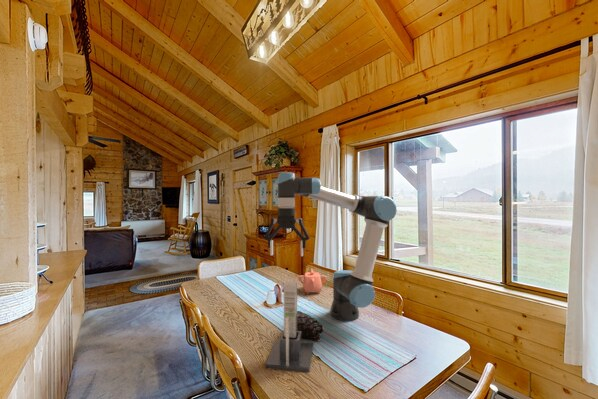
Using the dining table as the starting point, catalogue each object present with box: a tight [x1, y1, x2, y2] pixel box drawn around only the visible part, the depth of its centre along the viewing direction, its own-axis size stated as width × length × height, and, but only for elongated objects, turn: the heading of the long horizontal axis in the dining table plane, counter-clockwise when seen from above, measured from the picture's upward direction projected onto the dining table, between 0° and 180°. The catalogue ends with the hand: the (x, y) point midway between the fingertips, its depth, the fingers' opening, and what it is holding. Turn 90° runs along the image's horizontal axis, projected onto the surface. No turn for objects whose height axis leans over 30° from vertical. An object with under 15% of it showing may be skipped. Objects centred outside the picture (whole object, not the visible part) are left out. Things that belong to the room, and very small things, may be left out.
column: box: [283, 281, 298, 338], centre depth 104 cm, size 4×5×20 cm
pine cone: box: [297, 310, 324, 342], centre depth 122 cm, size 10×18×10 cm, turn 66°
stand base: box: [265, 316, 314, 372], centre depth 105 cm, size 16×16×19 cm
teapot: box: [297, 268, 328, 295], centre depth 178 cm, size 17×16×13 cm
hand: (286, 255), depth 119 cm, fingers open, 13 cm apart
